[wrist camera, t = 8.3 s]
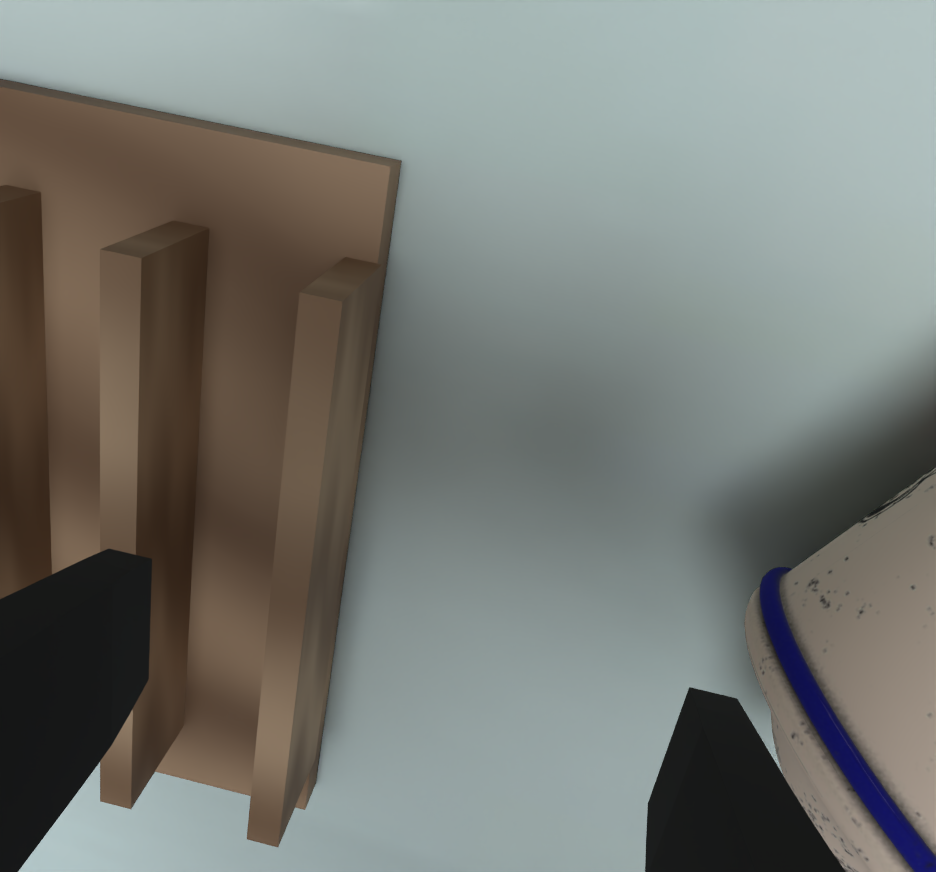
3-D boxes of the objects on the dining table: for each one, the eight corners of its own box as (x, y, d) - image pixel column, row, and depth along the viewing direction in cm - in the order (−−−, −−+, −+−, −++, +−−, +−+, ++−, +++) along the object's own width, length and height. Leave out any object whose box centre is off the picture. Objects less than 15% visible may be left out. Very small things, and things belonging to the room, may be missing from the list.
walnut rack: (318, 784, 26) (271, 901, 23) (-68, 686, 27) (-173, 785, 23) (405, 161, 19) (355, 189, 15) (-132, 52, 20) (-303, 52, 16)
